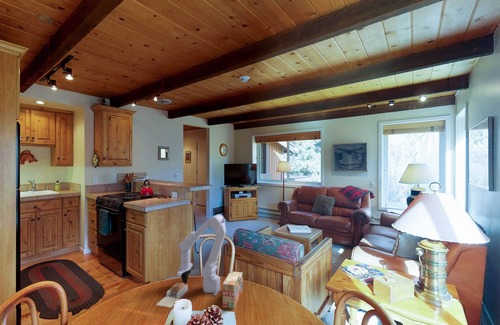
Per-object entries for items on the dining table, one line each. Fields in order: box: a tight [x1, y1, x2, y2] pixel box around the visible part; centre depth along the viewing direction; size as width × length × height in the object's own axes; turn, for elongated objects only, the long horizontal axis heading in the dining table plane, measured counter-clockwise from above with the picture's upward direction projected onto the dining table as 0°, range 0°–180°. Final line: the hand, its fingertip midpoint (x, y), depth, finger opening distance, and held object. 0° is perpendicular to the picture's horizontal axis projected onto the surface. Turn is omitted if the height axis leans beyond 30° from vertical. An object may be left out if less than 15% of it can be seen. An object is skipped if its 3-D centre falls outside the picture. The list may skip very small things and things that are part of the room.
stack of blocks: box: [222, 271, 244, 310], centre depth 126 cm, size 21×6×12 cm, turn 170°
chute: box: [155, 284, 190, 308], centre depth 124 cm, size 9×18×4 cm, turn 167°
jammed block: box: [171, 281, 185, 294], centre depth 129 cm, size 5×5×4 cm
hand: (184, 283), depth 136 cm, fingers closed
